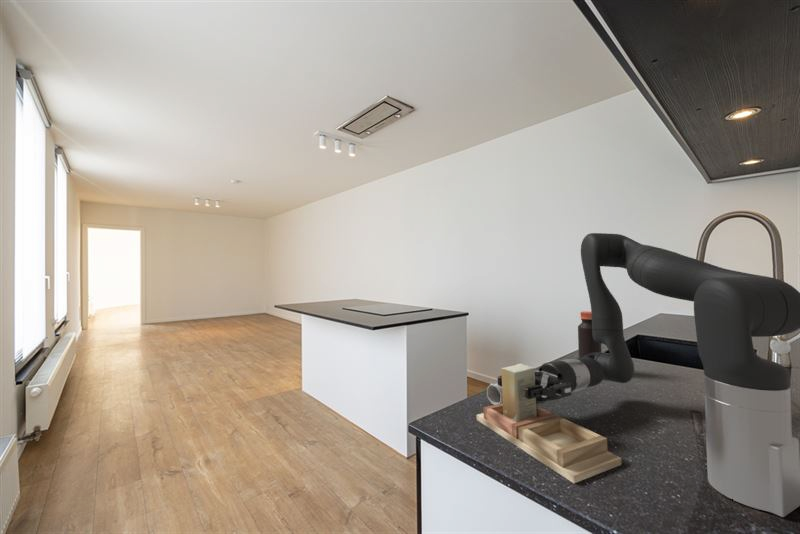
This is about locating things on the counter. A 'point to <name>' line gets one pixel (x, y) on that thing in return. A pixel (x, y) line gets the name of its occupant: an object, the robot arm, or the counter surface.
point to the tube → (495, 394)
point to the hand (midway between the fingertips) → (511, 387)
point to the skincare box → (518, 392)
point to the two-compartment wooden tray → (554, 442)
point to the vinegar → (587, 336)
